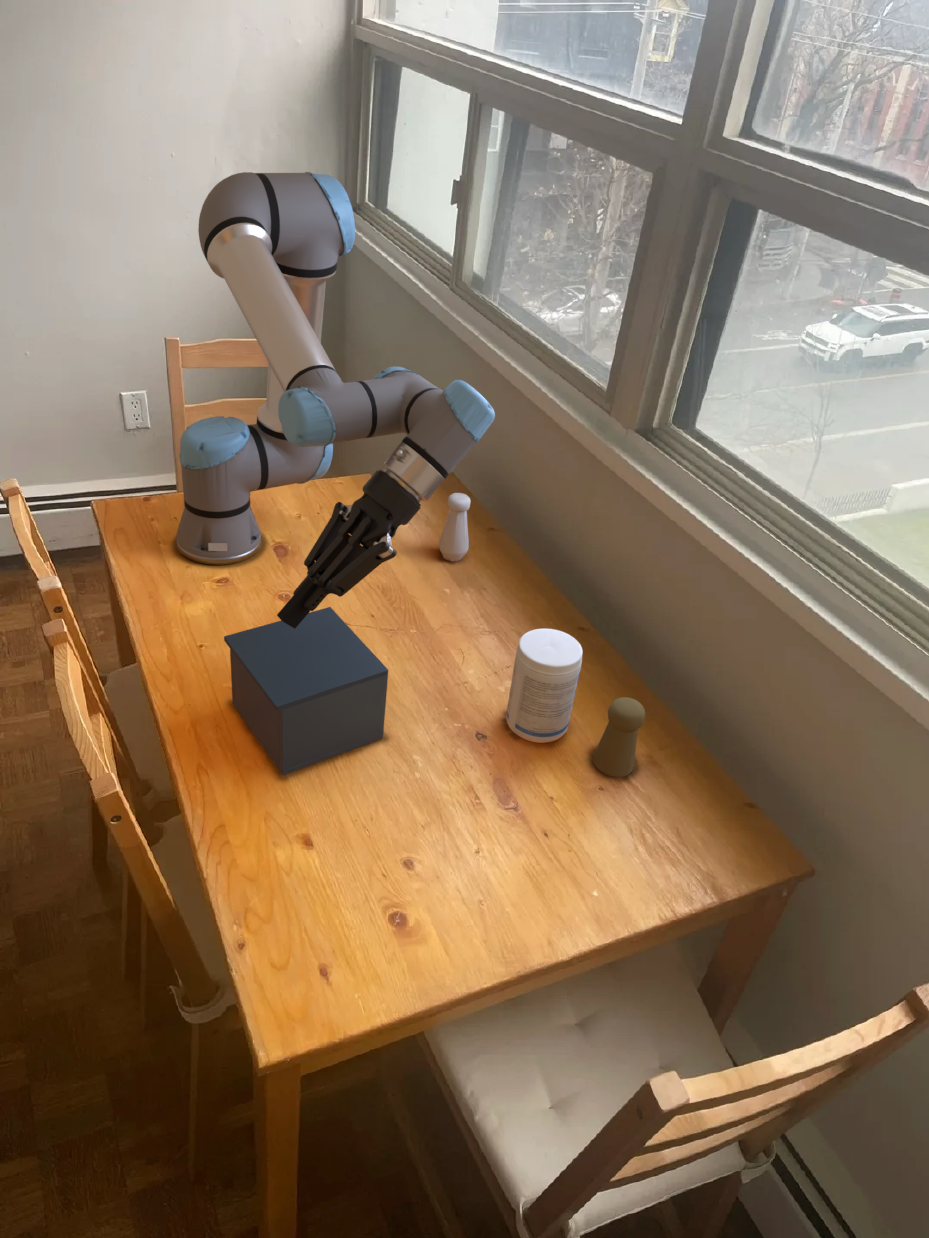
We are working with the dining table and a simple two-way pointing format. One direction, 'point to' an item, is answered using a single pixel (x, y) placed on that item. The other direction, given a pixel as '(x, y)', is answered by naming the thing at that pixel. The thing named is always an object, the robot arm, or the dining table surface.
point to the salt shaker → (455, 528)
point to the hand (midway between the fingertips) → (286, 621)
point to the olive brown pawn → (619, 738)
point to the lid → (304, 658)
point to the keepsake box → (310, 720)
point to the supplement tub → (543, 685)
